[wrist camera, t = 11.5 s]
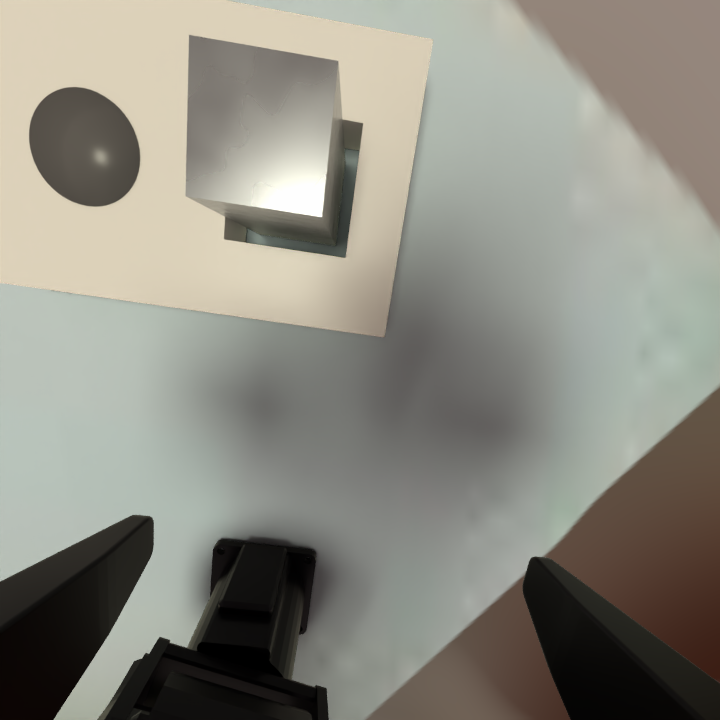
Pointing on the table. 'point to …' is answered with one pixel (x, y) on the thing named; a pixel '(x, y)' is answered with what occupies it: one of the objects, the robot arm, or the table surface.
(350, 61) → the socket plate
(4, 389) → the table surface
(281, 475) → the table surface
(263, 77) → the square peg
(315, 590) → the table surface
